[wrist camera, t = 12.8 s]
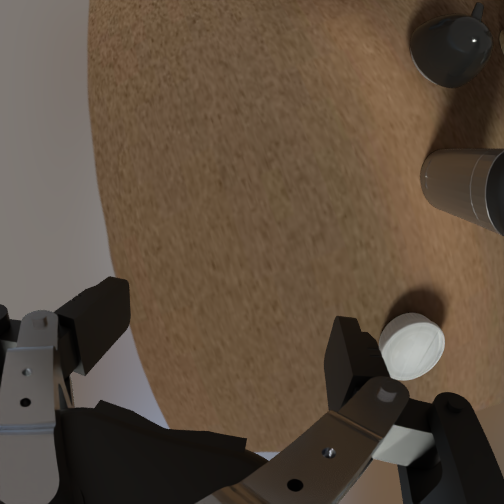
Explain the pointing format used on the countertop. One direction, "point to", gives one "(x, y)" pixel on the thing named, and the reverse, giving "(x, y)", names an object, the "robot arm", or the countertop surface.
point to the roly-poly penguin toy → (452, 48)
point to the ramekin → (411, 346)
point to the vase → (502, 40)
